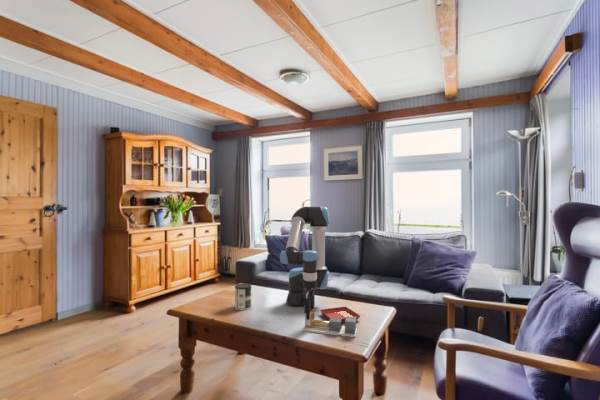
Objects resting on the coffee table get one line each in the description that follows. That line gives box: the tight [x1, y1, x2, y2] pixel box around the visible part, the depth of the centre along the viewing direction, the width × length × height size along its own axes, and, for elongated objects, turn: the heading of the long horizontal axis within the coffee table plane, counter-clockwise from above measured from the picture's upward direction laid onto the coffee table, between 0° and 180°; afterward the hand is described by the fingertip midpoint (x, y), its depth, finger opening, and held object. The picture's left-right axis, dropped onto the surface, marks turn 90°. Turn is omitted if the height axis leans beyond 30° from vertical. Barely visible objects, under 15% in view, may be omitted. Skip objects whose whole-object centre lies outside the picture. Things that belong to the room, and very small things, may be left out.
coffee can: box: [234, 283, 252, 311], centre depth 201 cm, size 10×10×14 cm
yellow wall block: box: [304, 309, 329, 328], centre depth 167 cm, size 18×4×8 cm, turn 74°
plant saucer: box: [319, 306, 361, 323], centre depth 184 cm, size 18×18×3 cm
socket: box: [344, 316, 357, 334], centre depth 163 cm, size 7×5×6 cm
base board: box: [302, 325, 358, 338], centre depth 166 cm, size 10×28×1 cm, turn 74°
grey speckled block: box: [328, 317, 343, 332], centre depth 165 cm, size 6×6×5 cm
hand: (309, 322), depth 169 cm, fingers open, 5 cm apart
